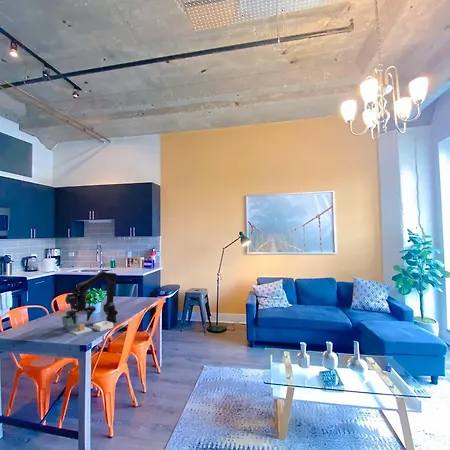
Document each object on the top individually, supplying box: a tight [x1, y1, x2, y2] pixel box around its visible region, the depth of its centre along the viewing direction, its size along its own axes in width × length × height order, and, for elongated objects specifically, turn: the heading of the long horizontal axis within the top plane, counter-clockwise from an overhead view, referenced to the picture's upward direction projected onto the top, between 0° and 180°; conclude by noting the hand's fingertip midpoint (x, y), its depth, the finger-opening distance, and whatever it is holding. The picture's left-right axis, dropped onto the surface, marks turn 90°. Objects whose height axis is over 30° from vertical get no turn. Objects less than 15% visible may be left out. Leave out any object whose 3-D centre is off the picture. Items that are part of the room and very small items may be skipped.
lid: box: [69, 322, 93, 336], centre depth 199 cm, size 11×11×5 cm
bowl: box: [92, 320, 114, 332], centre depth 205 cm, size 10×10×4 cm
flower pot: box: [61, 314, 79, 330], centre depth 207 cm, size 9×9×9 cm
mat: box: [67, 329, 95, 337], centre depth 199 cm, size 13×13×1 cm
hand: (81, 322), depth 199 cm, fingers open, 9 cm apart
